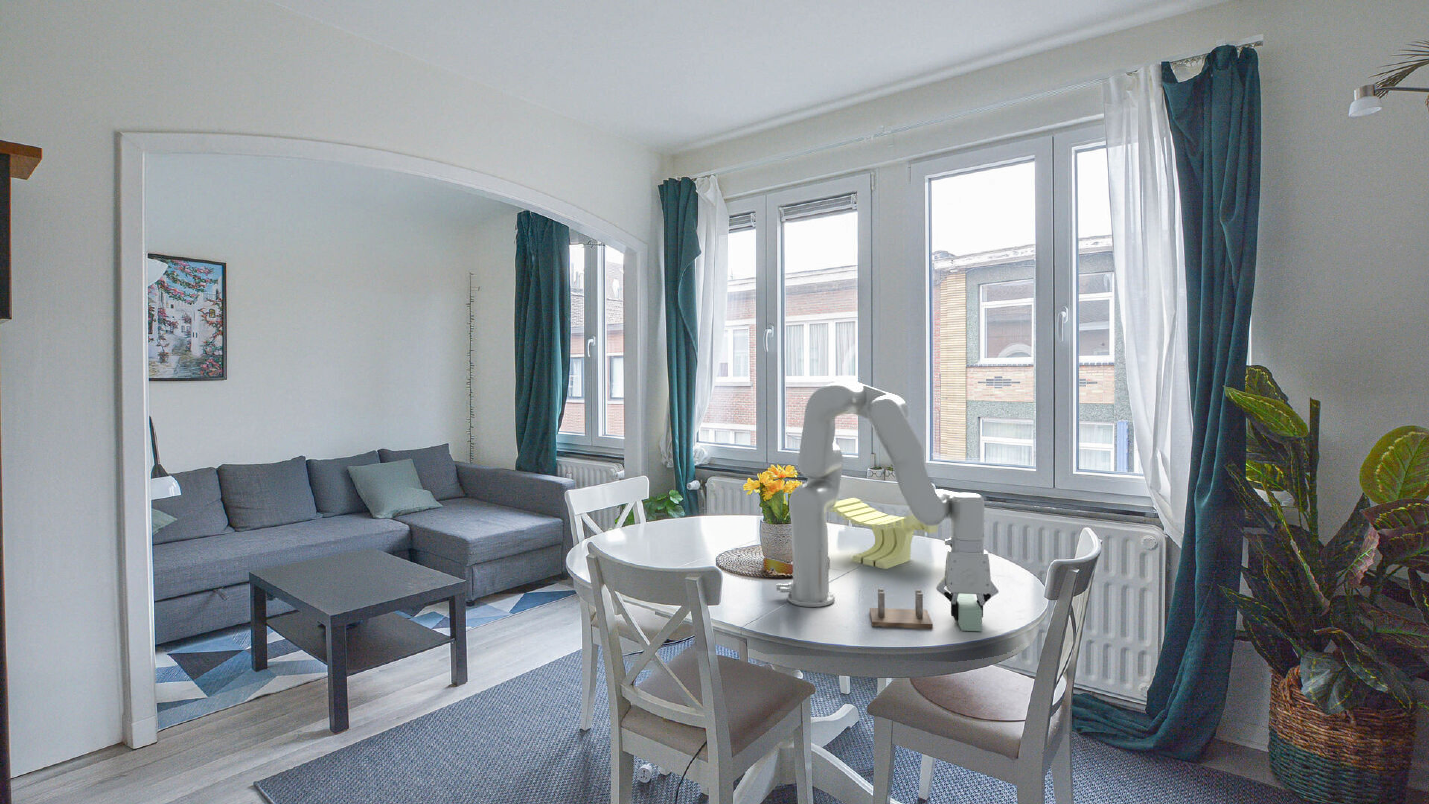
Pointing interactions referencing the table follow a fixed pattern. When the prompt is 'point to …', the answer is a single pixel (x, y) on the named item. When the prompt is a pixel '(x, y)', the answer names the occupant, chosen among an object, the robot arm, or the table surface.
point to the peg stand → (901, 614)
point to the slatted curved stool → (882, 533)
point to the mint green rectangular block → (969, 613)
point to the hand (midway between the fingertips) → (966, 618)
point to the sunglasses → (777, 566)
